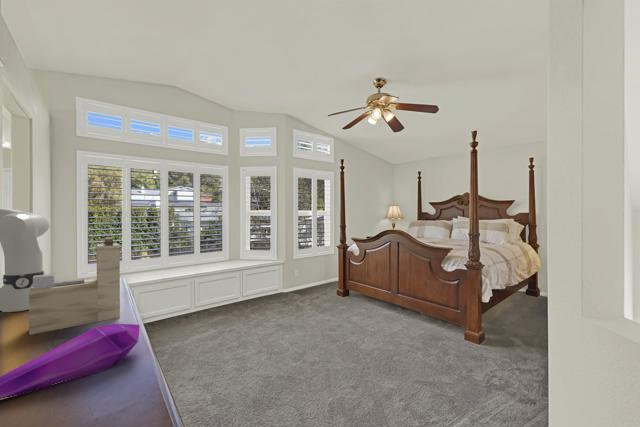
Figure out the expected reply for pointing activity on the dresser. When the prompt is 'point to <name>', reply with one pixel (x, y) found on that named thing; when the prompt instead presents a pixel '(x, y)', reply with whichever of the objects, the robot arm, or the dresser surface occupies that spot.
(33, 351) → the dresser surface
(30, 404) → the dresser surface
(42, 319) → the maple stand
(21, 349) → the dresser surface
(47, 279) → the steel link
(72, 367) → the crystal
